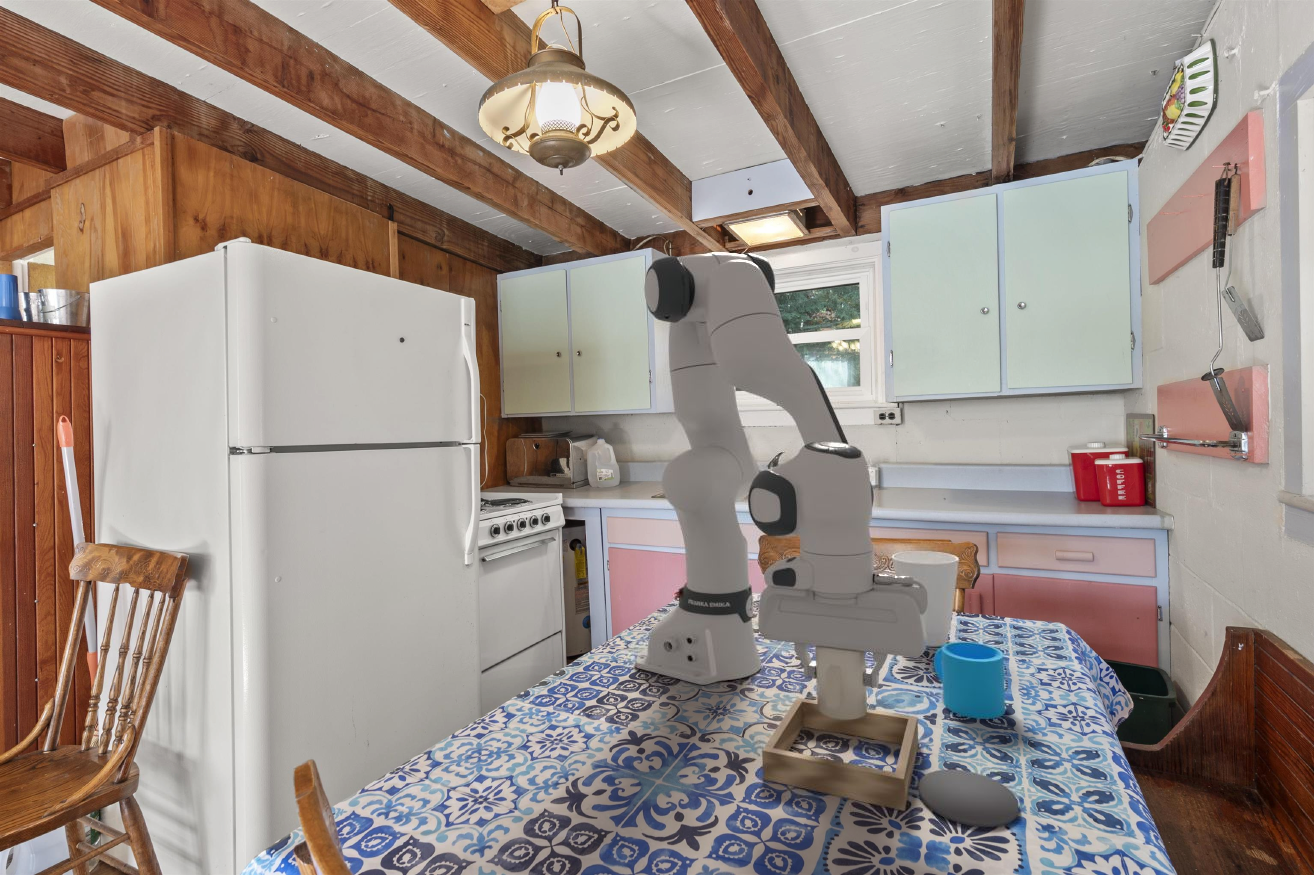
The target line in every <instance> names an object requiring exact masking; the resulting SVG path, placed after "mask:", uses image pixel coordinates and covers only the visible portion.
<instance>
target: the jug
mask: <svg viewBox="0 0 1314 875" xmlns="http://www.w3.org/2000/svg"><path fill="white" fill-rule="evenodd" d="M814 647H815V649H814V650H815V661H816V678H817V679H816V701H817V706H818V710H819V711H820V712H821V713H822V714H824V715H826V716H829V717H832V718H836V719H845V720H849V719H857V718H860V717H863V716H864V715H865V714H866V713H867V709H868V700H867V699H868V698H867V686H864V681H865V679H864V672H865V670H866V668H867V667H866V652H865V651H857V650H849V649H841V648H833V647H824V646H816V645H814Z"/></svg>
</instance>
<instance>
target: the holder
mask: <svg viewBox="0 0 1314 875" xmlns="http://www.w3.org/2000/svg"><path fill="white" fill-rule="evenodd" d="M918 722H919V721H918V716H914V715H910V714H909V715H908V714H907V715H906V714H901V713H895V712H891V711H890V712H889V711H883V710H875V709H870V708H867V713H866V714H865V715H864V716H863V717H860V718H857V719H849V720H845V719H836V718H832V717H829V716H826V715H824V714H822V713H821V712H820V711H819V710H818V706H817V700H814V699H808V698H801V697H796V698H795V700H794V702H793V703H792V705H791V706H790V707H789V709H788V710H787V712H786V713H785V715H784V716H783V718H782V720H781V721H779V724H778V726H777V727H776V729H775V730H774V732H773V733H772V735H771V736H770V738H769V739H768V741H767V742H766V744H765V746H764V747H763V748H762V750H761V754H762V755H761V756H762V757H761V758H762V759H761V760H762V762H761V763H762V780H765V781H770V782H775V783H779V784H784V785H788V786H792V787H796V788H800V789H801V788H802V789H806V790H810V791H814V792H819V793H823V794H827V795H832V796H836V797H840V798H841V797H842V798H846V799H850V800H854V801H859V802H864V803H869V804H873V805H876V806H879V807H886V808H890V809H894V810H899V811H903V812H905V811H906V807H907V801H908V796H909V791H910V788H911V781H912V776H913V772H914V768H915V763H916V762H915V761H916V757H917V751H918V747H919V725H918V724H919V723H918ZM803 727H806V728H811V729H816V730H817V729H818V730H820V731H821V730H822V731H828V732H833V733H838V734H844V735H851V736H856V737H861V738H865V739H871V740H872V739H873V740H878V741H883V742H888V743H889V742H890V743H895V744H900V745H901V748H900V751H899V756H898V759H897V763H896V764H897V765H896V767H895V771H894V772H893V771H889V770H885V769H877V768H873V767H868V766H864V765H860V764H859V765H858V764H854V763H848V762H844V761H838V760H834V759H828V758H824V757H819V756H814V755H809V754H804V753H798V752H794V751H790V749H791V748H792V746H793V744H794V743H795V741H796V739H797V738H798V736H799V734H800V732H801V730H802V729H803Z"/></svg>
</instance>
